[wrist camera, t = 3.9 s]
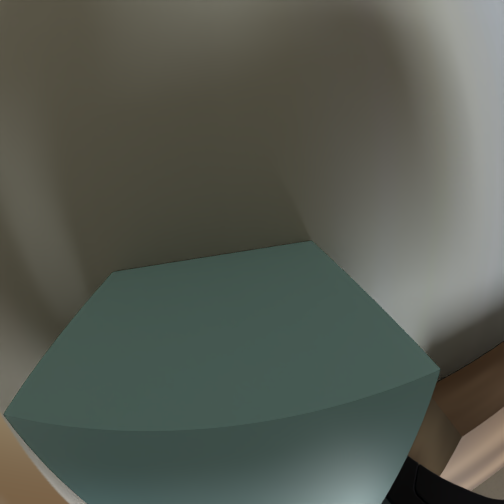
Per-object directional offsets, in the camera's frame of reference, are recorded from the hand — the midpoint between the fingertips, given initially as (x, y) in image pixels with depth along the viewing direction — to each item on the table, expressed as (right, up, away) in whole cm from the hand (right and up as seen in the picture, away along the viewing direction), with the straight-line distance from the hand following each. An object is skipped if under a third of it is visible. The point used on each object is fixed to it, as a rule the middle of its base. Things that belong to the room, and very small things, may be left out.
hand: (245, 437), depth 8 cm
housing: (0, 0, +1) cm, 1 cm away
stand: (+15, -5, +4) cm, 17 cm away
